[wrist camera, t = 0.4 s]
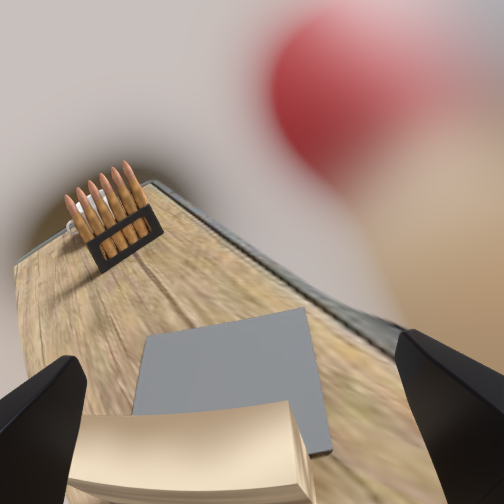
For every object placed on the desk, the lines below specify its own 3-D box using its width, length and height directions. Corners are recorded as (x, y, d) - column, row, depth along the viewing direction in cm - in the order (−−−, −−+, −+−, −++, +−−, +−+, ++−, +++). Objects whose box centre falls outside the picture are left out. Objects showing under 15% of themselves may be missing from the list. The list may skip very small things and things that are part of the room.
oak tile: (317, 508, 15) (297, 483, 9) (141, 512, 16) (40, 470, 10) (311, 461, 17) (287, 400, 12) (144, 471, 19) (53, 413, 13)
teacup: (111, 211, 58) (100, 187, 55) (128, 217, 53) (116, 191, 50) (70, 241, 53) (56, 217, 50) (83, 251, 48) (67, 225, 45)
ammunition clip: (159, 229, 47) (127, 156, 40) (164, 232, 45) (131, 157, 38) (99, 268, 42) (58, 197, 35) (102, 274, 41) (59, 200, 34)
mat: (332, 450, 18) (332, 449, 17) (128, 465, 19) (125, 463, 19) (304, 309, 28) (304, 306, 28) (148, 338, 30) (147, 335, 29)
